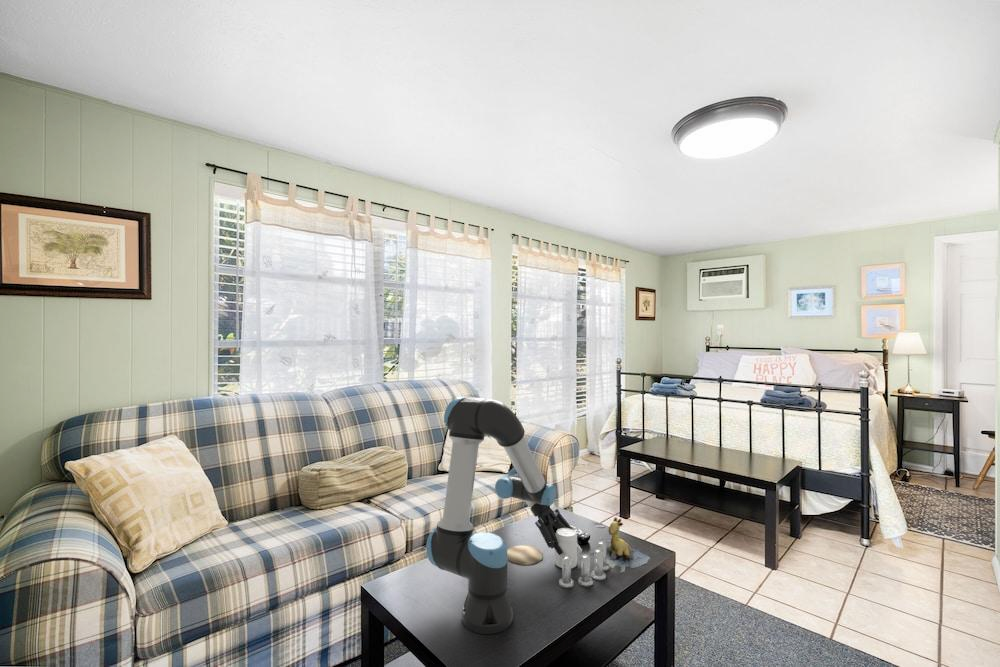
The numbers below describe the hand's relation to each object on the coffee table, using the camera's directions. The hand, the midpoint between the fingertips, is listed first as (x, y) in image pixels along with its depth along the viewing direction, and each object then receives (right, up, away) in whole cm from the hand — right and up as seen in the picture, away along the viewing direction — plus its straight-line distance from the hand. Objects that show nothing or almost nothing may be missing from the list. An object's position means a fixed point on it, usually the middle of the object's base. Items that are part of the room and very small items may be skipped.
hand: (574, 556), depth 163 cm
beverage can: (-3, -4, +2) cm, 5 cm away
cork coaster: (-18, -4, +9) cm, 20 cm away
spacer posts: (+4, -4, -6) cm, 8 cm away
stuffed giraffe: (+20, -5, +8) cm, 22 cm away
